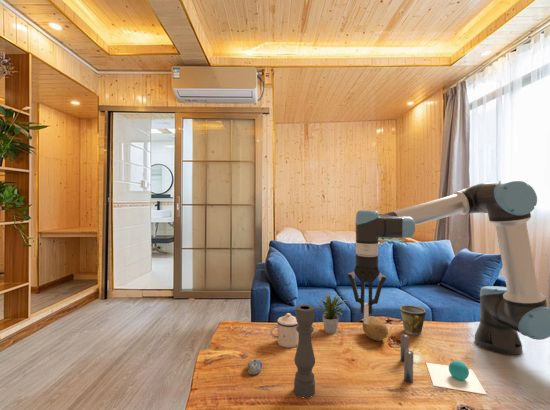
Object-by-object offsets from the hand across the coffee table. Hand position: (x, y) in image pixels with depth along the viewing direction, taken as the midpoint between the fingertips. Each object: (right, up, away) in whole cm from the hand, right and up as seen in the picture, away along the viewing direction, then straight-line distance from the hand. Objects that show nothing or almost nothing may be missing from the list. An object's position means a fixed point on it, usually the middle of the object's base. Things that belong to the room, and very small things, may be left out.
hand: (366, 322), depth 106 cm
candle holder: (-23, -15, -16) cm, 31 cm away
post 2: (+10, -15, -10) cm, 20 cm away
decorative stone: (-39, -15, -4) cm, 41 cm away
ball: (+27, -12, -9) cm, 31 cm away
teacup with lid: (-28, -14, +15) cm, 35 cm away
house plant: (-8, -14, +26) cm, 30 cm away
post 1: (+14, -14, +2) cm, 20 cm away
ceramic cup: (+28, -15, +25) cm, 40 cm away
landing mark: (+26, -15, -8) cm, 31 cm away
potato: (+9, -14, +20) cm, 27 cm away
